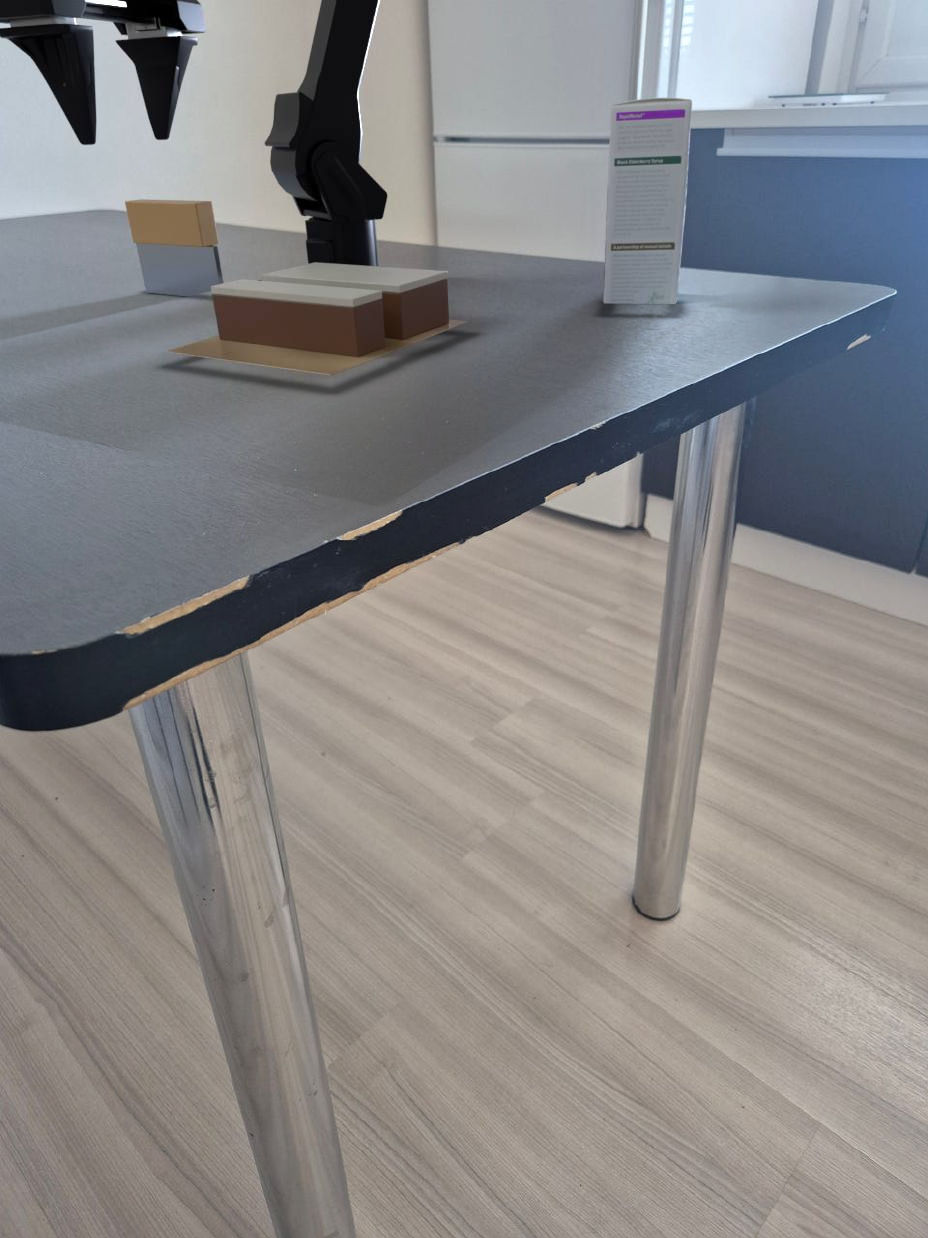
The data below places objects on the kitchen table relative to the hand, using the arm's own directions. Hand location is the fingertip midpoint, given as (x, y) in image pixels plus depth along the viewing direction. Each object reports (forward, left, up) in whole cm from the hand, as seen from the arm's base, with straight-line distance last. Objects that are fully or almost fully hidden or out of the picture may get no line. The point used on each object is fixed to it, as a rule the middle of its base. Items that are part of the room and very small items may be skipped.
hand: (127, 141), depth 66 cm
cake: (+1, +22, -12) cm, 25 cm away
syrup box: (-17, +37, -13) cm, 42 cm away
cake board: (+5, +22, -13) cm, 26 cm away
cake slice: (+7, +22, -12) cm, 26 cm away
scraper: (-7, -4, -13) cm, 15 cm away
